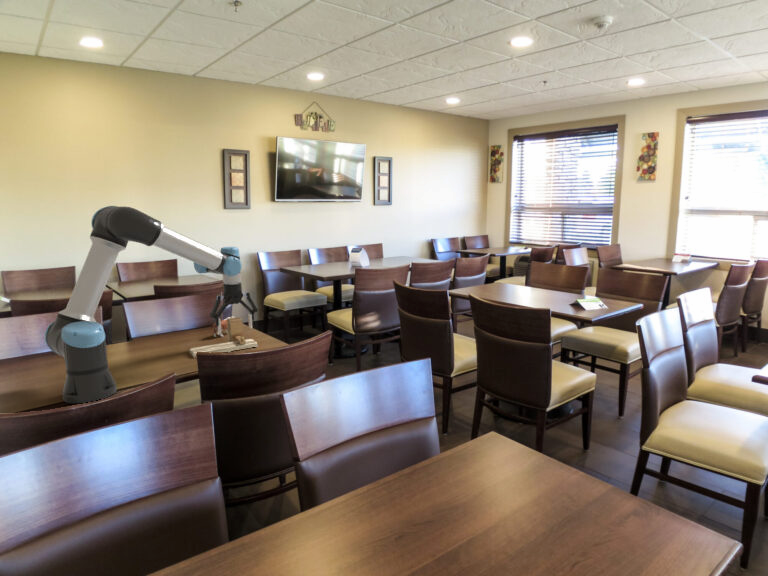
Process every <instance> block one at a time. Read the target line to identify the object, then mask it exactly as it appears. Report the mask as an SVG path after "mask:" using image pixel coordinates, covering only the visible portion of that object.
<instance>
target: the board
mask: <svg viewBox="0 0 768 576" xmlns="http://www.w3.org/2000/svg"><path fill="white" fill-rule="evenodd" d="M244 340H245V341H246V344H240V343H238V342H237V341H233V342H228V341H227V342H220V343H216V344H215V343H213V344H210V345H209V344H208V345H203V346H197V347H191V348H189V353H190V355H191V356H192V357H193V358H194V359H197V358H196V353H197V352H209V353H211V352H228V353H232V352H231V351H233V350H239V349H245V348H251V347H257V348H258V347H259V346H258V345H259V344H258V342H257V341H255V340H254V339H253V338H247V339H244ZM251 349H252V348H251Z"/></svg>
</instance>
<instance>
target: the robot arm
mask: <svg viewBox="0 0 768 576" xmlns="http://www.w3.org/2000/svg"><path fill="white" fill-rule="evenodd" d="M91 227H92V230H91V233H90V235H89V239H90V241H91V243H92V244H91V246H90V249H89V252H88V254H87V256H86V258H85V261H84V264H83V266H82V268H81V270H80V272H79V275H78V278H77V280H76V283H75V285H74V288H73V290H72V292H71V295H70V297H69V299H68V302H67V305H66V307H65V308H64V309H62V310H59V311H58V312H57V315H56V318H55V320H53V322H51V323H50V324H49V325H48V326H47V328H46V330H45V332H44V342H45V344H46V346H47V347H48V348H49V350H51V352H52V353H54V354H57V355H58V356H61V357H63V358H64V362H65V370H66V371H65V372H66V378H65V382H64V384H63V390H62V400H63V401H64V402H65V403H68V404H87V403H86V402H88V403H92V402H91V401H94V402H97V401H96V400H98V401H100V400H99V399H101V400H103V399H106V398H109V397H111V396H113V395H115V393H117V391H118V390H117V383H116V380H115V378H114V377H113V375H112V374H111V371H110V369H109V363H108V361H109V360H108V354H107V343H106V333H105V330H104V326H103V325H102V324H101V323H99V322H97V320H96V319H95V314H96V311H97V309H98V306H99V303H100V300H101V299H102V296H103V293H104V290H105V289H106V286H107V283H108V280H109V279H110V275H111V273H112V271H113V268H114V266H115V264H116V261H117V258H118V256H119V253H120V252H122V251H124V250H126V248H127V246H128V243H129V242H134V243H138V244H142V245H144V246H147V247H152V246H155V247H156V248H160V249H162V250H164V251H167V252H169V253H171V254H173V255H176V256H179V257H181V258H183V259H186V260H188V261H191V262H193V267H194V270H195V272H196V273H198V274H209V273H210V274H211V273H212V274H217V275H222V283H223V285H222V286H223V295H219V294H217V295H216V296H215V299H216V300H215V302H214V304H213V306H212V310H211V312H210V314H209V317H210V318H212V319H214V323H215V325H216V326H218V333H220V334H222V331H221V321H222V320H221V318H220V316H221V315H222V314H223V313H224V311H225V310H226V308H227V307H228V306H229V305H238V304H241V305H242V306H243V308H244V309H246V310H247V311H248V313H247V318H248V320H247V321H248V328H249V329H251V330H252V329H253V321H254V320H255V313H257V312H258V311H259V309H258V307H256V305H255V303H254V301H253V300H252V298H251V294H250V292H248V291H245V292H243V290H242V289H243V287H242V276H241V275H242V273H241V270H242V262H241V255H240V250H239V248H238V247H237V246H223V247H221V248H220V250H219V251H218V250H216V249H214V248H213V247H209V246H208V245H205V244H203V243H202V242H199V241H197V240H194V239H192V238H190V237H188V236H186V235H184V234H182V233H179V232H177V231H175V230H173V229H171V228H169V227H166V226H164V225H163V222H162V221H160V220H158V219H157V218H154V217H153V216H151V215H148V214H146V213H144V212H142V211H140V210H139V209H136V208H133V207H131V206H116V205H108V206H105V207H101V208H99V209H98V210H97V211H96V212H95V213H94V214H93V215H92V218H91ZM243 297H244V298H246V300H247V302H248V304H249V305H247V304H246V303H245V302H244V301H243V300H242V299H243ZM223 299H224V301H223V304H222V305H221V301H222V300H223ZM219 306H220V308H219ZM249 306H250V307H249ZM220 334H219V335H220Z"/></svg>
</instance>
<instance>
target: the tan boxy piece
mask: <svg viewBox="0 0 768 576" xmlns="http://www.w3.org/2000/svg"><path fill="white" fill-rule="evenodd" d="M226 318H227V331H228V334H227V342H233V341H237V342H238V343H240V344H246V341H245V340H246V339H245V337H244V332H243V331H244V329H243V319H242V318H241V317H239V316H237V317H236V316H234V318H228V317H226Z"/></svg>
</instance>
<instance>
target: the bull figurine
mask: <svg viewBox="0 0 768 576" xmlns="http://www.w3.org/2000/svg"><path fill="white" fill-rule="evenodd" d="M234 317H235V316H234V315H232V316H230V317H229V316H228V317H226V318H225V319H222V320H221V332H223V331H225V334H227V335H228V331H227V318H234ZM212 328H213V331H212V332H213V337H214V338H217V335H218V336H220V337H225V336H224V334H222V333H221V334H220V333H218V326H216V325H215V322H214V323H213V324H212ZM216 333H217V335H216Z"/></svg>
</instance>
